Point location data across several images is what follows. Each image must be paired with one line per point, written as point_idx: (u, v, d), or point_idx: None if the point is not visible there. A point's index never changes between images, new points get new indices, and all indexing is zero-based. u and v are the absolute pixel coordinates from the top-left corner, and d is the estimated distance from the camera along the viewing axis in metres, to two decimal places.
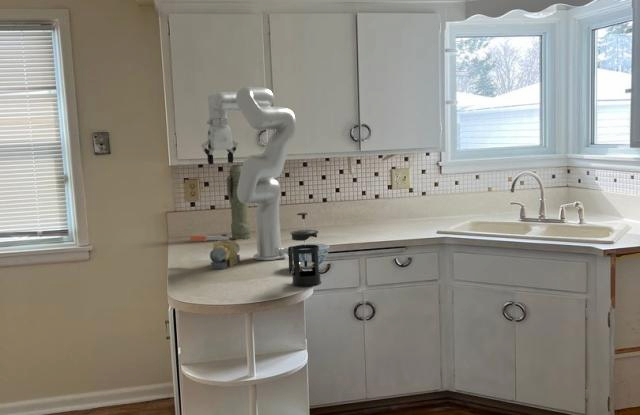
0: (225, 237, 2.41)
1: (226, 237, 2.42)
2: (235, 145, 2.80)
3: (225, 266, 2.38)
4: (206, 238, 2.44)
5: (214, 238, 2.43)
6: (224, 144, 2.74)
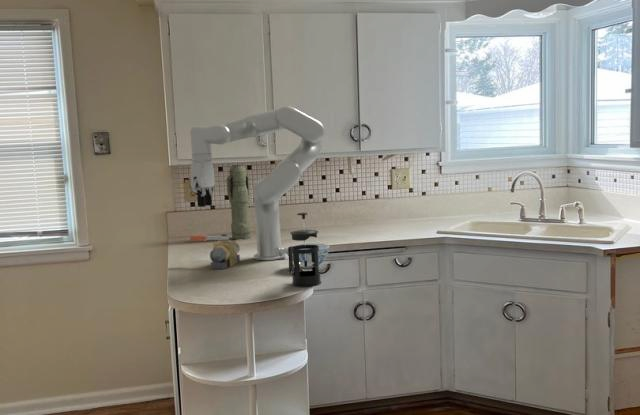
0: (225, 237, 2.41)
1: (226, 237, 2.42)
2: None
3: (225, 266, 2.38)
4: (206, 238, 2.44)
5: (214, 238, 2.43)
6: None
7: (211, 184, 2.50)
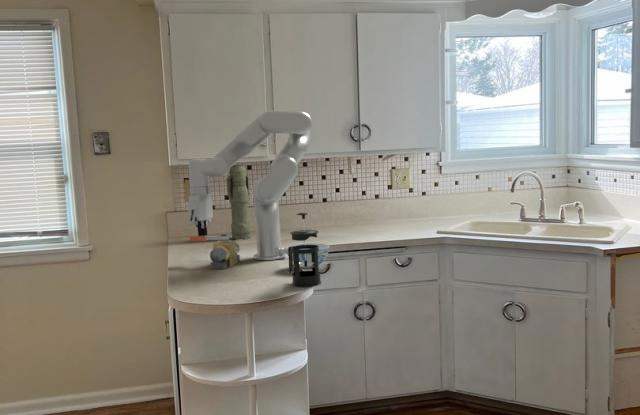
0: (225, 237, 2.41)
1: (226, 237, 2.42)
2: None
3: (225, 266, 2.38)
4: (206, 238, 2.44)
5: (214, 238, 2.43)
6: None
7: (209, 216, 2.49)
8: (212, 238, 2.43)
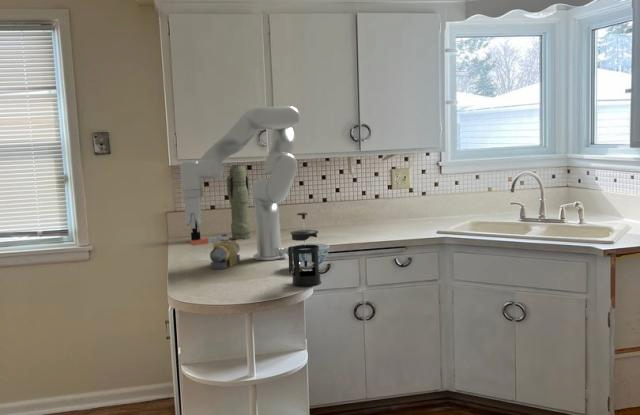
0: (228, 236, 2.43)
1: (228, 236, 2.43)
2: None
3: (225, 266, 2.38)
4: (209, 240, 2.38)
5: (216, 239, 2.40)
6: None
7: None
8: (215, 239, 2.40)
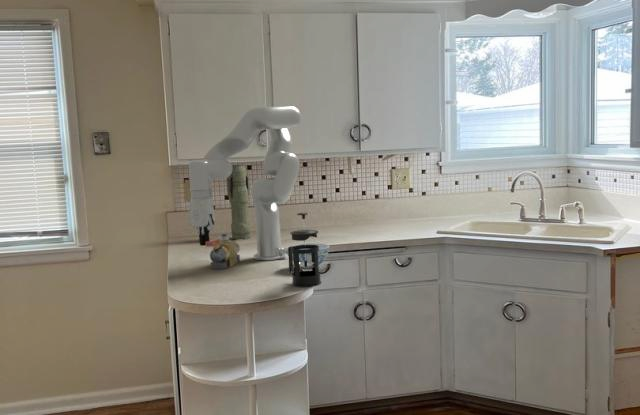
0: None
1: None
2: (208, 228, 2.30)
3: (225, 266, 2.38)
4: None
5: (222, 239, 2.39)
6: (197, 220, 2.31)
7: None
8: (222, 239, 2.39)
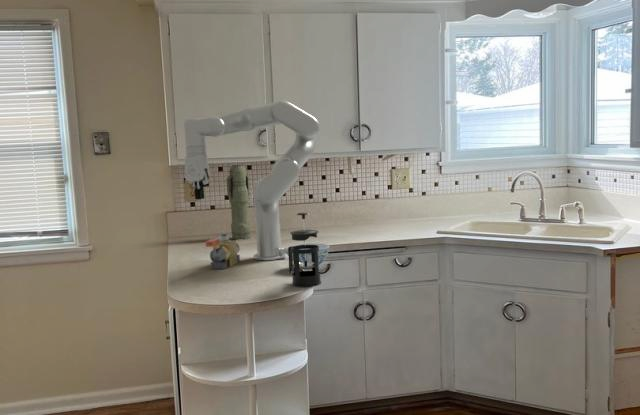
0: None
1: None
2: (203, 182, 2.44)
3: (225, 266, 2.38)
4: None
5: (222, 239, 2.39)
6: (193, 175, 2.44)
7: None
8: (222, 239, 2.39)
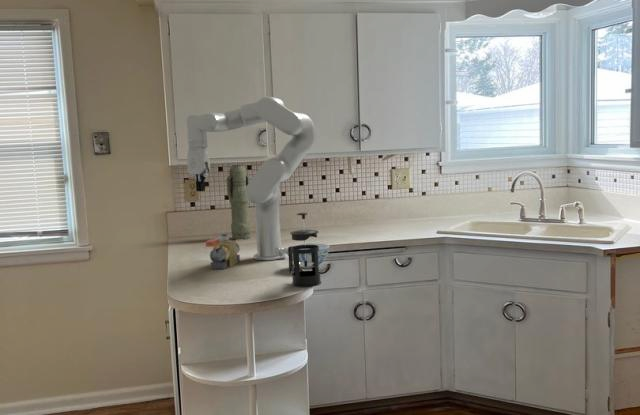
0: None
1: None
2: (204, 175, 2.56)
3: (225, 266, 2.38)
4: None
5: (222, 239, 2.39)
6: (194, 168, 2.57)
7: None
8: (222, 239, 2.39)
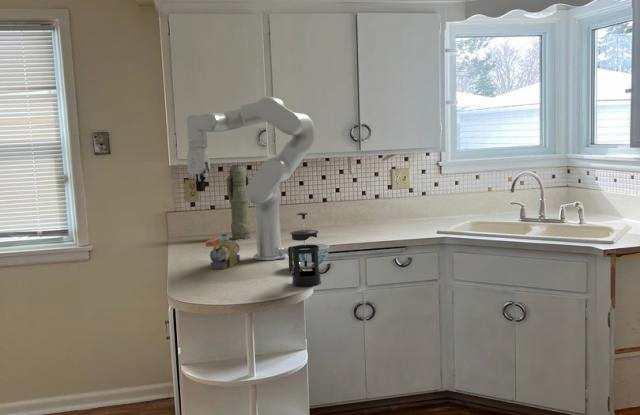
0: None
1: None
2: (204, 175, 2.56)
3: (225, 266, 2.38)
4: None
5: (222, 239, 2.39)
6: (194, 168, 2.57)
7: None
8: (222, 239, 2.39)
